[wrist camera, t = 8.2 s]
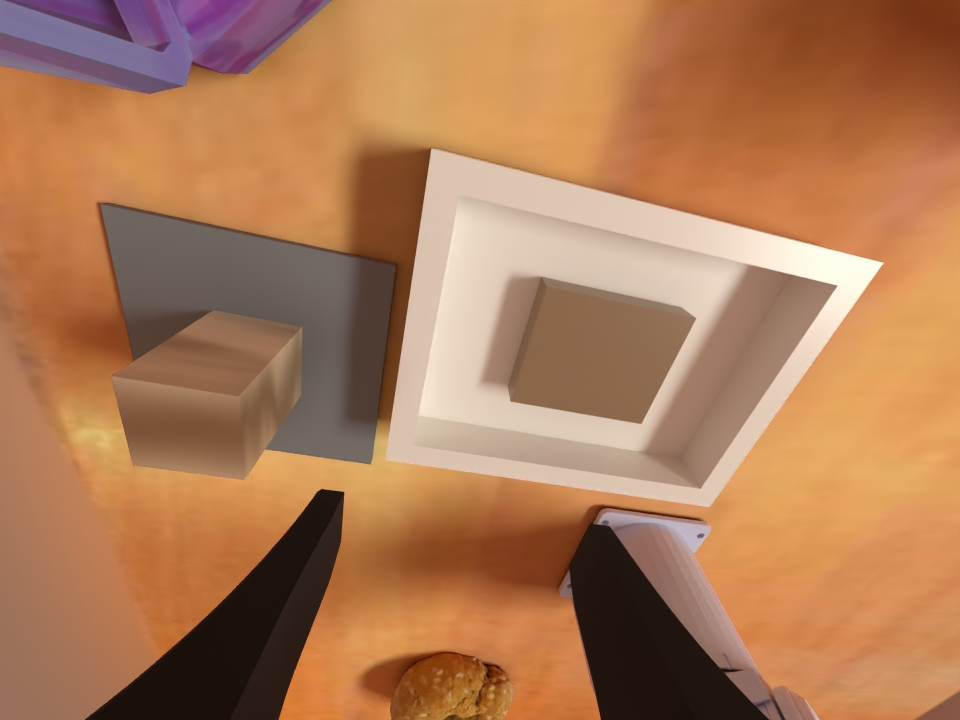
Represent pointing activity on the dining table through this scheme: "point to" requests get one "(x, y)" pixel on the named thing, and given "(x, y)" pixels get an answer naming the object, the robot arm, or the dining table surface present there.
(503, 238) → the tray
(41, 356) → the dining table surface
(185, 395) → the maple block
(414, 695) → the bagel
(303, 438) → the rubber mat
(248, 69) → the lantern
